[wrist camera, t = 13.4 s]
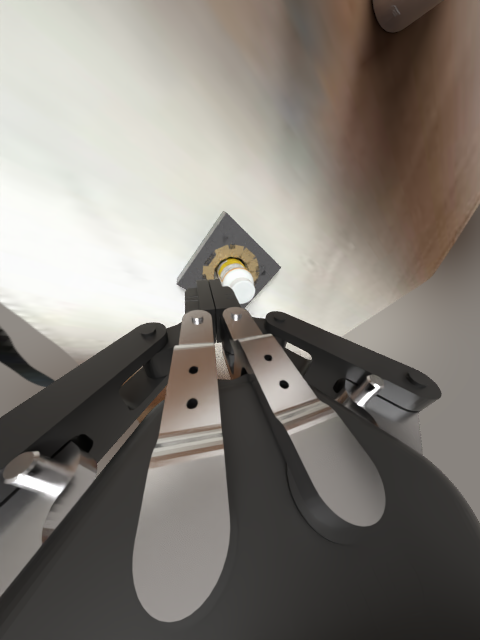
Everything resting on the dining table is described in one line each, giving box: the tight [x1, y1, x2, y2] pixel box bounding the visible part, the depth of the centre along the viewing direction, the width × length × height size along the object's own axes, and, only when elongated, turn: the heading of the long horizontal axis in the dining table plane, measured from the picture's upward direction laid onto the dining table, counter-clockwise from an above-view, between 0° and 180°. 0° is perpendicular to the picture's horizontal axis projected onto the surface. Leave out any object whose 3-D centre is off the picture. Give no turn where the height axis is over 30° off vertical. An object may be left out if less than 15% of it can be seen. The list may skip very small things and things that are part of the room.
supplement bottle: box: [217, 257, 255, 304], centre depth 30 cm, size 5×5×10 cm
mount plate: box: [177, 211, 281, 309], centre depth 32 cm, size 14×14×2 cm
